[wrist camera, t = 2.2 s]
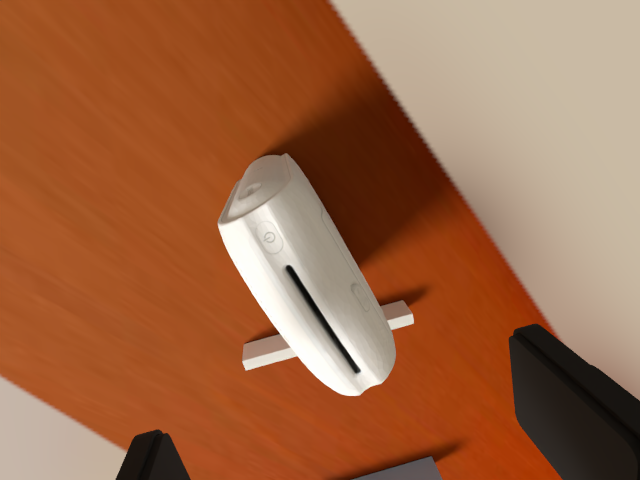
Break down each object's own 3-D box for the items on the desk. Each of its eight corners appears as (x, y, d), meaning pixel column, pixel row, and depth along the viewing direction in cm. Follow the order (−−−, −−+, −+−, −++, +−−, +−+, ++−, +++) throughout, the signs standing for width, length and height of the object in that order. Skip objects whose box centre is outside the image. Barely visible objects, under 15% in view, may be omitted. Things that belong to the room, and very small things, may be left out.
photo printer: (226, 175, 24) (187, 239, 13) (285, 139, 24) (302, 171, 12) (308, 299, 28) (337, 439, 16) (361, 269, 28) (429, 390, 16)
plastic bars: (243, 344, 28) (241, 370, 25) (403, 299, 29) (417, 321, 26) (301, 503, 34) (304, 538, 31) (433, 464, 34) (447, 496, 32)
